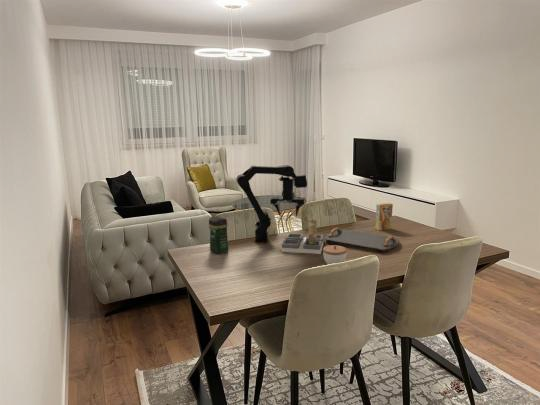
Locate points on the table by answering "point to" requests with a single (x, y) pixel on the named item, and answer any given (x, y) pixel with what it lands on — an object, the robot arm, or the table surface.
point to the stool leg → (312, 231)
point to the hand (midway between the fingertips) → (288, 216)
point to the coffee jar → (218, 235)
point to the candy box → (383, 216)
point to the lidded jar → (334, 254)
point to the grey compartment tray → (301, 244)
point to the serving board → (362, 239)
